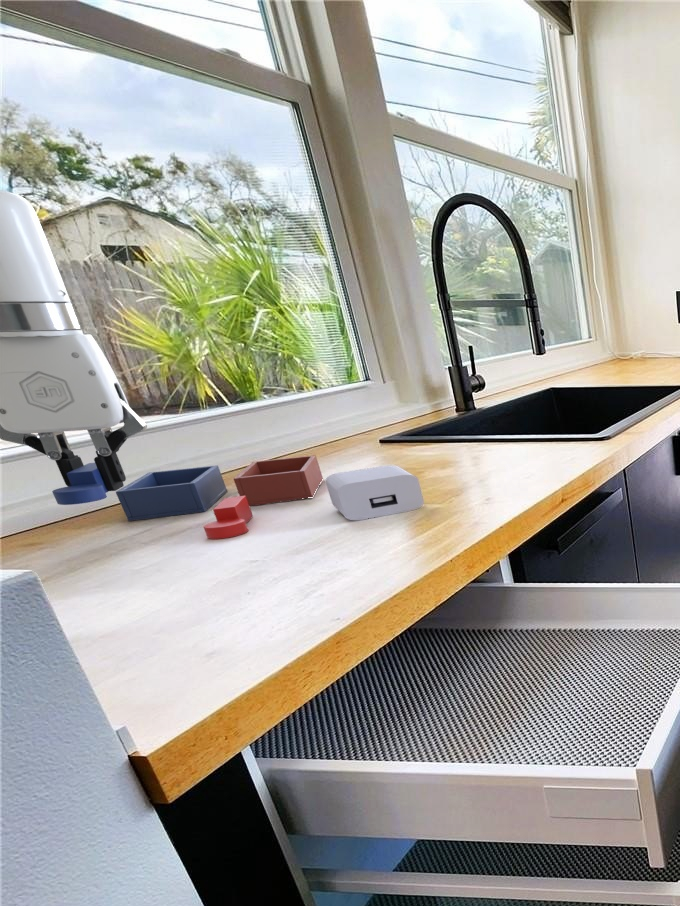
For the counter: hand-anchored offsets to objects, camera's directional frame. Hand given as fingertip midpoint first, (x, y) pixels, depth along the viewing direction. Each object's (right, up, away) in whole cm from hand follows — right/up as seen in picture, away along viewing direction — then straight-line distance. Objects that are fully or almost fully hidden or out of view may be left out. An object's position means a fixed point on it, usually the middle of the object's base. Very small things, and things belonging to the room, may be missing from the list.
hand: (99, 489), depth 81 cm
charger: (+24, 0, +14) cm, 28 cm away
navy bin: (-5, 0, +17) cm, 18 cm away
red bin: (+6, +3, +22) cm, 23 cm away
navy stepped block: (+1, -1, -2) cm, 2 cm away
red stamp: (+11, -4, +5) cm, 13 cm away
